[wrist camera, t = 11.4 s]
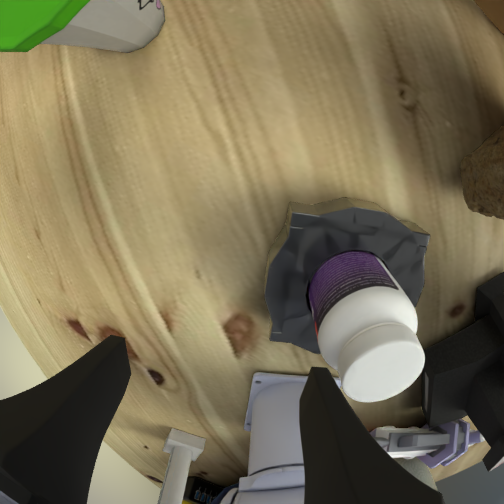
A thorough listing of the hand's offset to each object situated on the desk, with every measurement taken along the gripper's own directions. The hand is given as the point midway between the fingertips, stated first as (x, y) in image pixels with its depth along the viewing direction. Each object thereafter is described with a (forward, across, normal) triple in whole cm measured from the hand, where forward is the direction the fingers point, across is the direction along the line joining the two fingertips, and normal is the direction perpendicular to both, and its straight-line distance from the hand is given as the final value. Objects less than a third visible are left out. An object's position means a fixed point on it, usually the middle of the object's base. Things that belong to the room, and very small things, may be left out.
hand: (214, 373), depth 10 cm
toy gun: (+4, -26, +15) cm, 30 cm away
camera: (+10, -25, +5) cm, 28 cm away
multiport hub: (+8, +1, +42) cm, 43 cm away
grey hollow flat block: (+10, -7, 0) cm, 13 cm away
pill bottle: (+10, -7, 0) cm, 13 cm away
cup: (+11, +9, -16) cm, 21 cm away
